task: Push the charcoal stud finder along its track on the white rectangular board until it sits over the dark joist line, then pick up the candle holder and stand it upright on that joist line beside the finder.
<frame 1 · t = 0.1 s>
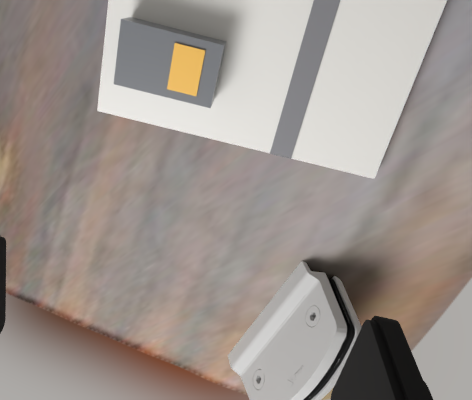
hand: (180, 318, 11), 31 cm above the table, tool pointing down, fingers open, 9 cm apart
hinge: (290, 323, 51), on the table
white rectangular board: (266, 30, 37), on the table
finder: (170, 62, 36), point 3 cm above the table, slide at 0.0 cm
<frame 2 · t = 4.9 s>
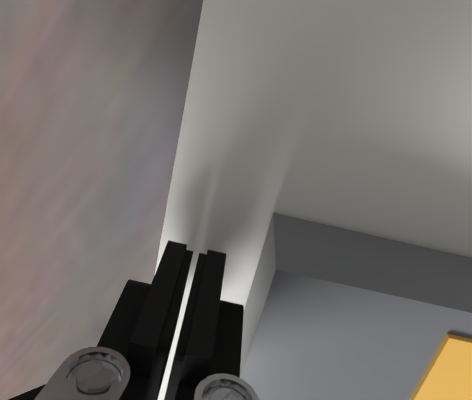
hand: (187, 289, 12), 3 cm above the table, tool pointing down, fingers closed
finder: (391, 346, 12), point 3 cm above the table, slide at 1.0 cm, touching gripper
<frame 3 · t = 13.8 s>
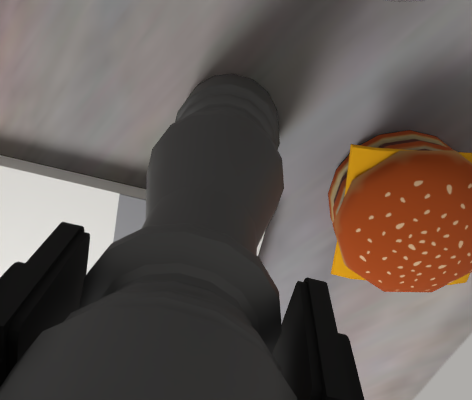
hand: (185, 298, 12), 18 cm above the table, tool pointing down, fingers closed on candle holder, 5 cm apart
hamburger: (395, 191, 30), on the table
white rectangular board: (73, 289, 35), on the table
candle holder: (230, 122, 29), on the table, touching gripper
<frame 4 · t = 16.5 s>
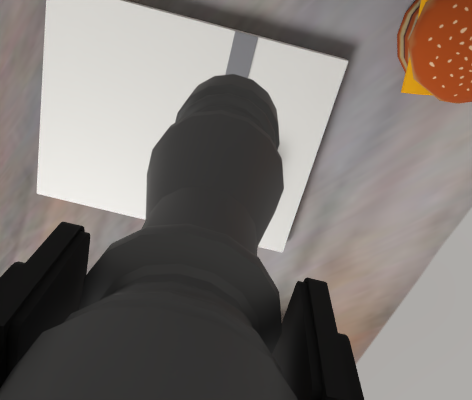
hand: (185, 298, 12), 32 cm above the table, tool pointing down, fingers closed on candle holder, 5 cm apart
hamburger: (449, 35, 38), on the table
white rectangular board: (181, 128, 43), on the table
candle holder: (230, 122, 29), point 13 cm above the table, touching gripper
when the fingers open (21 cm above the table, at t = 19.0 s): candle holder drops 1 cm, resting on white rectangular board.
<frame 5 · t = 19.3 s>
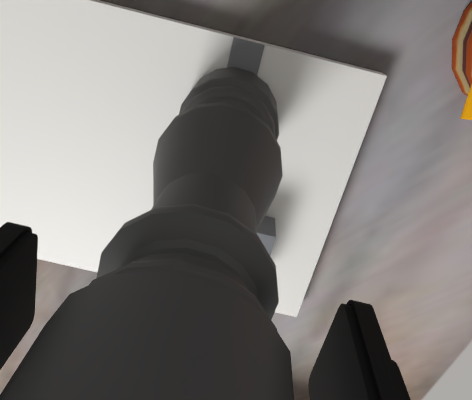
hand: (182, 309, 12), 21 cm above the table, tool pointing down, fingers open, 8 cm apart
white rectangular board: (165, 163, 33), on the table
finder: (213, 244, 32), point 3 cm above the table, slide at 11.8 cm
candle holder: (231, 113, 30), point 1 cm above the table, touching white rectangular board
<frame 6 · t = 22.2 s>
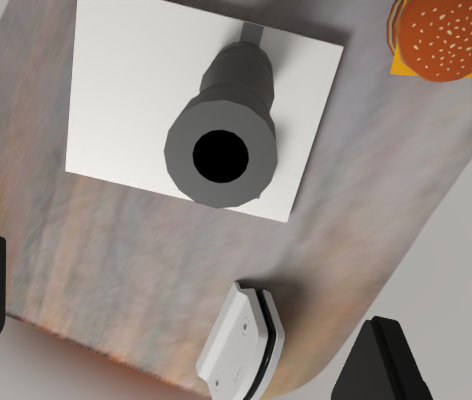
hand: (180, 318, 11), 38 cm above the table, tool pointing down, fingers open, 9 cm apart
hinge: (240, 332, 61), on the table
hamburger: (432, 23, 43), on the table
white rectangular board: (195, 110, 48), on the table
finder: (228, 164, 47), point 3 cm above the table, slide at 11.8 cm
candle holder: (242, 73, 45), point 1 cm above the table, touching white rectangular board
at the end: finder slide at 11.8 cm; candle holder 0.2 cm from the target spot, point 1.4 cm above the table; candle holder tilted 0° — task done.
